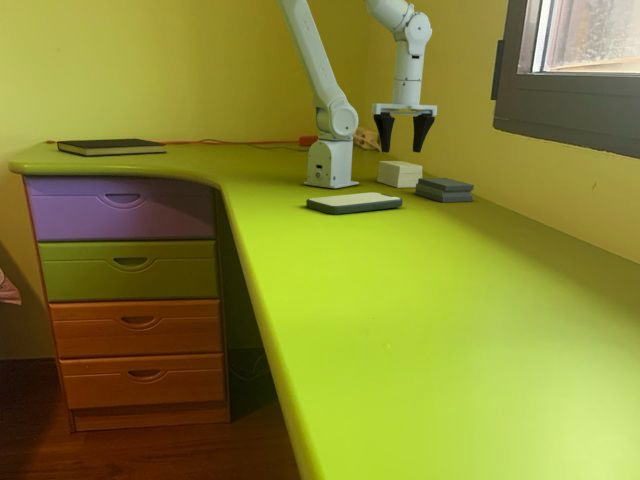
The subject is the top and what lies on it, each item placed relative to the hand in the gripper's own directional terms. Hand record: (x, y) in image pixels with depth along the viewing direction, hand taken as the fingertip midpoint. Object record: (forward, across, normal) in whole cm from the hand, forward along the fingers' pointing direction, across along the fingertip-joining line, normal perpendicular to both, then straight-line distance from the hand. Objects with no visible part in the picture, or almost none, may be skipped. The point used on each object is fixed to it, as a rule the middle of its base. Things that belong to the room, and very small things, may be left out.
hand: (401, 152), depth 146 cm
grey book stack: (+6, 0, -18) cm, 19 cm away
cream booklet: (+4, 0, 0) cm, 4 cm away
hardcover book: (+7, -50, +66) cm, 83 cm away
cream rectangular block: (+6, 0, 0) cm, 7 cm away
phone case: (+7, -23, -24) cm, 34 cm away
